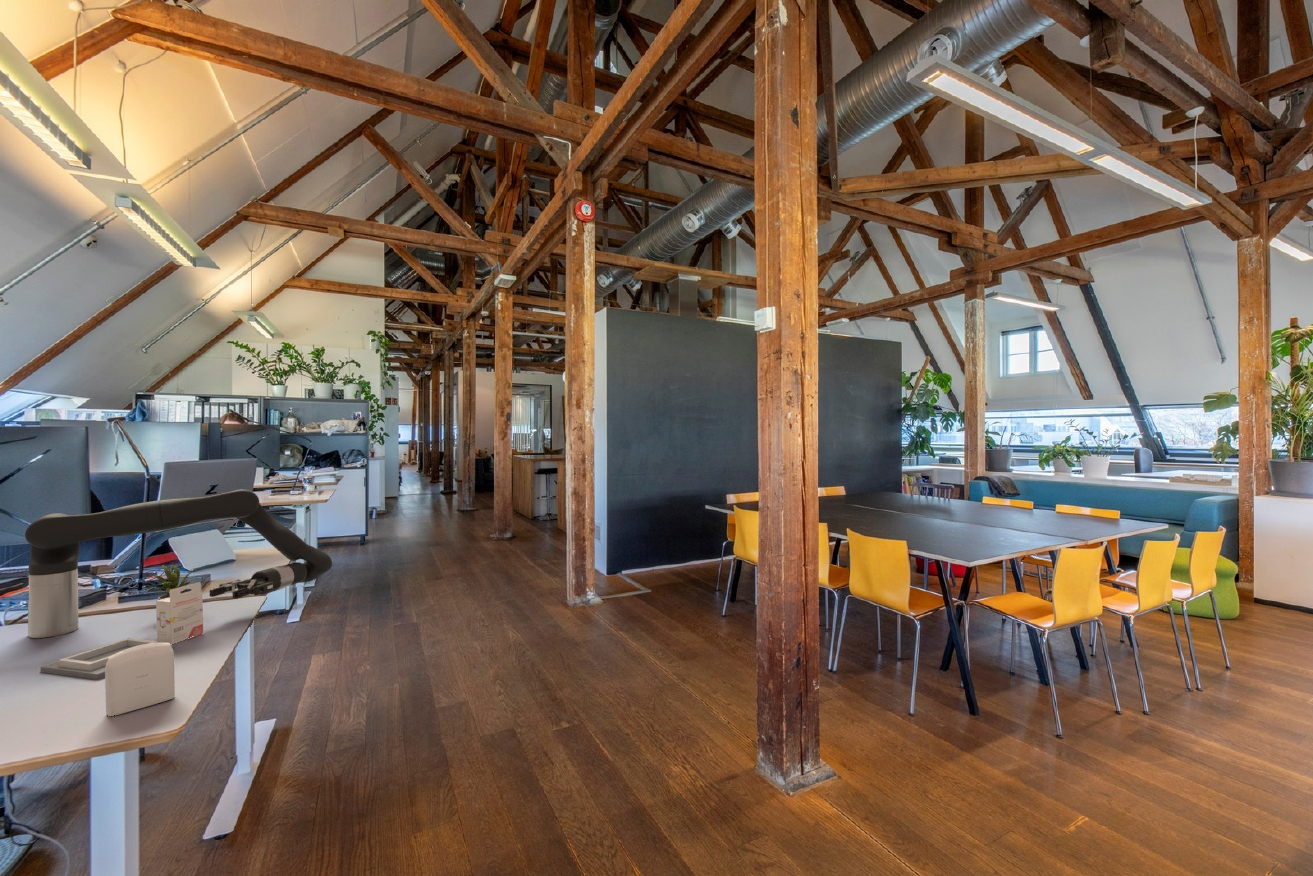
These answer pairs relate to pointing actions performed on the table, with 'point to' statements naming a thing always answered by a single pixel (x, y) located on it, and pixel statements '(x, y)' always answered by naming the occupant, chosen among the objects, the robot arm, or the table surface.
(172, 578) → the house plant
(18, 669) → the table surface
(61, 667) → the refill dock
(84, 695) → the table surface
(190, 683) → the table surface
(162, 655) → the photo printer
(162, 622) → the ink cartridge box
